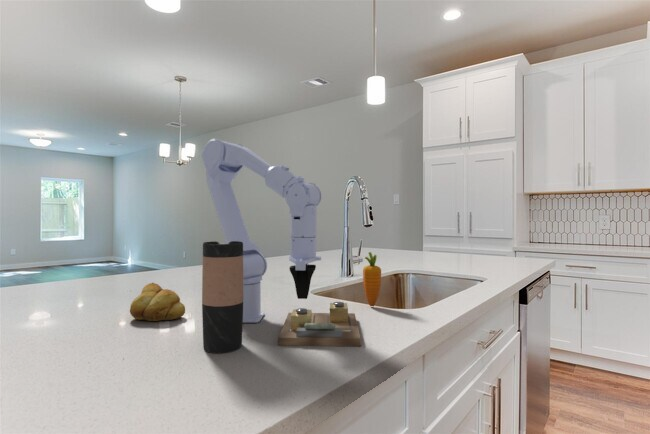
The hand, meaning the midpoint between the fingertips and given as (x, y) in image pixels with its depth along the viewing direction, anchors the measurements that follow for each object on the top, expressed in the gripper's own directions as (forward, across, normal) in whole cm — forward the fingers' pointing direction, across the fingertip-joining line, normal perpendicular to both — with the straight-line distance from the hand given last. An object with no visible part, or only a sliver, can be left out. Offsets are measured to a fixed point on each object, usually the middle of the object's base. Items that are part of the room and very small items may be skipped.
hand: (302, 298), depth 83 cm
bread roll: (+7, +7, +35) cm, 37 cm away
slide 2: (+5, +2, -8) cm, 10 cm away
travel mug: (+7, -12, +14) cm, 20 cm away
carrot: (+7, +19, -18) cm, 27 cm away
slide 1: (+5, -4, 0) cm, 6 cm away
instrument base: (+7, -2, -4) cm, 8 cm away
